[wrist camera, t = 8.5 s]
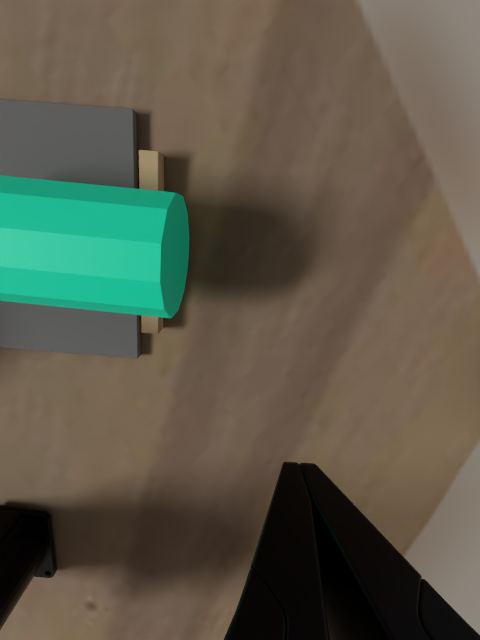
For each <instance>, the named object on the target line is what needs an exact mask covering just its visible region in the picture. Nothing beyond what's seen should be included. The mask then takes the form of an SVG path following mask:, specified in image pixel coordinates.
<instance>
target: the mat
mask: <svg viewBox="0 0 480 640" xmlns="http://www.w3.org/2000/svg"><path fill="white" fill-rule="evenodd" d="M0 175H1V176H12V177H22V178H32V179H42V180H53V181H63V182H73V183H83V184H94V185H104V186H114V187H124V188H135V189H138V173H137V114H136V112H135V111H134V110H133V109H125V108H111V107H97V106H83V105H69V104H55V103H41V102H27V101H13V100H0ZM0 347H2V348H14V349H27V350H39V351H51V352H64V353H76V354H89V355H101V356H113V357H126V358H138V357H139V356H140V355H141V352H140V315H133V314H124V313H114V312H104V311H95V310H85V309H75V308H66V307H56V306H46V305H37V304H27V303H17V302H7V301H0Z"/></svg>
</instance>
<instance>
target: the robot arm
mask: <svg viewBox="0 0 480 640" xmlns="http://www.w3.org/2000/svg"><path fill="white" fill-rule="evenodd" d="M56 571H57V566H56V558H55V550H54V542H53V533H52V525H51V517H50V515H49V514H48V513H47V512H44V511H33V510H21V509H10V508H0V630H1V628H2V626H3V625H4V623H5V622H6V620H7V618H8V617H9V615H10V614H11V612H12V610H13V609H14V607H15V605H16V604H17V602H18V601H19V599H20V597H21V596H22V594H23V593H24V591H25V589H26V588H27V586H28V585H29V583H30V581H31V580H32V578H33V577H34V576H35V577H46V578H51V577H53V576H54V574H55V572H56ZM421 579H422V577H421V575H420V574H419V573H418V572H417V571H416V570H415V569H414V568H413V567H412V566H411V565H410V563H409V562H408V561H407V560H406V559H405V558H404V557H403V556H402V555H401V554H400V553H399V552H398V551H397V550H396V549H395V548H394V546H393V545H392V544H391V543H390V542H389V541H388V540H387V539H386V538H385V537H384V536H383V535H382V534H381V533H380V532H379V531H378V530H377V529H376V527H375V526H374V525H373V524H372V523H371V522H370V521H369V520H368V519H367V518H366V517H365V516H364V515H363V514H362V513H361V512H360V511H359V509H358V508H357V507H356V506H355V505H354V504H353V503H352V502H351V501H350V500H349V499H348V498H347V497H346V496H345V495H344V494H343V493H342V492H341V490H340V489H339V488H338V487H337V486H336V485H335V484H334V483H333V482H332V481H331V480H330V479H329V478H328V477H327V476H326V475H325V474H324V472H323V471H322V470H321V469H320V468H319V467H318V466H317V465H316V464H313V463H300V464H298V463H296V462H284V463H283V465H282V468H281V471H280V474H279V478H278V481H277V484H276V487H275V490H274V494H273V497H272V500H271V503H270V507H269V510H268V513H267V516H266V519H265V523H264V526H263V529H262V532H261V535H260V539H259V542H258V545H257V548H256V552H255V555H254V558H253V561H252V564H251V569H250V570H249V573H248V577H247V580H246V583H245V586H244V589H243V592H242V595H241V598H240V601H239V603H238V606H237V609H236V612H235V614H234V617H233V619H232V621H231V624H230V626H229V628H228V631H227V633H226V635H225V638H224V640H480V635H479V634H478V633H477V632H476V631H475V630H474V629H473V628H471V626H469V624H467V623H466V622H465V620H464V619H463V618H461V616H460V615H459V614H458V613H457V612H456V611H455V610H454V609H453V608H452V607H451V606H450V605H449V604H448V603H447V602H446V601H445V600H444V599H443V598H442V597H441V596H440V595H439V594H438V593H437V592H436V591H435V590H434V589H433V588H432V587H431V585H430V584H429V583H428V582H427V581H426V580H424V579H422V580H421Z"/></svg>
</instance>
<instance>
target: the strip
mask: <svg viewBox="0 0 480 640" xmlns="http://www.w3.org/2000/svg"><path fill="white" fill-rule="evenodd" d="M139 189H145V190H155V191H164V156H163V155H162V154H161V153H160V152H158V151H148V150H139ZM141 324H142V333H153V334H158V333H159V332H160V331H161V330H162V329H163V317H153V316H143V315H141Z"/></svg>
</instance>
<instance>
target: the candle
mask: <svg viewBox="0 0 480 640" xmlns="http://www.w3.org/2000/svg"><path fill="white" fill-rule="evenodd" d="M189 240H190V239H189V223H188V212H187V208H186V205H185V201H184V197H183V196H182V195H180V194H178V193H175V192H165V191H155V190H145V189H135V188H124V187H114V186H104V185H94V184H83V183H73V182H63V181H53V180H42V179H32V178H22V177H12V176H1V175H0V301H7V302H17V303H27V304H37V305H46V306H56V307H66V308H75V309H85V310H95V311H104V312H114V313H124V314H133V315H143V316H153V317H163V318H172V317H173V316H174V315H175V314H176V313H177V312H178V310H179V307H180V304H181V301H182V298H183V294H184V291H185V284H186V277H187V271H188V260H189Z"/></svg>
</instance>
